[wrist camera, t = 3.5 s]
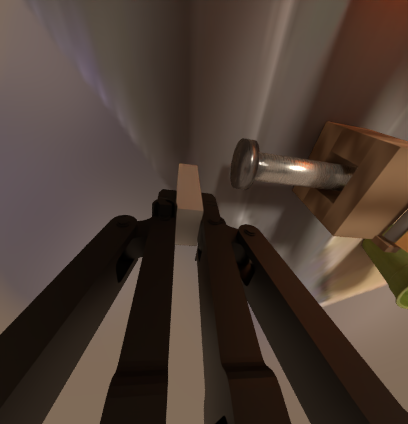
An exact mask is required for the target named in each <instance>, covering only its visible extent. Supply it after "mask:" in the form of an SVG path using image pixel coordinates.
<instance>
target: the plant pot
mask: <svg viewBox="0 0 408 424" xmlns="http://www.w3.org/2000/svg"><path fill="white" fill-rule="evenodd" d="M392 226H393V225H391V226H390V227H389V228H388V229H387V231H388V230H389V229H390V228H391V227H392ZM387 231H386V232H387ZM386 232H385V233H386ZM407 232H408V231H407ZM385 233H384V234H385ZM384 234H383V235H382V236H384ZM371 240H372V239H364V241H363V244H362V246H363V249H364V250H365V252H366V253H367V254H368V256H369V257H370V259H371V260H372V261H373V263H374V264H375V266H376V267H377V269H378V270H379V272H380V273H381V274H382V276H383V277H384V279H385V280H386V282H387V283H388V285H389V288H390V290H391V291H392V292H393V294H394V295H395V297H396V304H397V305H398V306H399V307H401V308H405V309H408V253H407V252H406V251H405V250H403V249H402V248H400V249H399V250H398V251H397V252H396V253H392V252H383V251H382V250H381V249H380V248H379V247H378V246H377V245H376V244H375V243H373V242H372V241H371ZM396 242H397V241H396ZM396 242H395V243H396Z"/></svg>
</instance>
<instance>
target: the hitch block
mask: <svg viewBox="0 0 408 424" xmlns="http://www.w3.org/2000/svg"><path fill="white" fill-rule="evenodd" d="M308 160H314V161H321V162H327V163H334V164H341V165H347V166H354V167H358V168H357V169H356V171H355V172H354V174H353V175H352V177H351V178H350V180H349V181H348V183H347V184H346V186H345V187H344V189H343V190H342V191H335V190H327V189H319V188H311V187H303V186H294V188H293V190H292V191H293V192H294V193H295V194H296V195H297V196H298V197H299V199H300V200H301V201H302V202H303V203H304V204H305V205H306V206H307V207H308V209H309V210H310V211H311V212H312V213H313V214H314V215H315V216H316V217H317V219H318V220H319V221H320V222H321V223H322V224H323V225H324V226H325V227H326V229H327V230H328V231H329V232H330V233H331V234H332V235H333V236H340V237H352V238H365V239H372V240H371V241H372V242H373V243H375V244H376V245H377V246H378V247H379V248H380V249H381V250H382V251H383V252H392V253H396V252H397V251H398V250H399V249H400V247H399V246H398V245H396V244H395V242H392V241H390V240H388V239H386V238H385V237H384V236H382V235H383V234H384V233H385V232H386V231H387V229H388V228H389V227H390V226H391V225H392V224H393V223H394V222H395V221H396V220H397V219H398V218H399V217H400V216H401V215H402V214H403V213H404V212H405V211H406V210H407V209H408V141H405V140H401V139H398V138H395V137H392V136H389V135H385V134H382V133H379V132H376V131H373V130H369V129H366V128H360V127H355V126H350V125H344V124H339V123H334V122H329V121H327V122H326V124H325V126H324V128H323V130H322V132H321V134H320V136H319V138H318V140H317V142H316V144H315V146H314V148H313V150H312V152H311V154H310V156H309V158H308Z"/></svg>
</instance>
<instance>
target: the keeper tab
mask: <svg viewBox="0 0 408 424" xmlns="http://www.w3.org/2000/svg"><path fill="white" fill-rule="evenodd" d="M407 231H408V210H407V211H406V212H405V213H404V214H403V215H402V216H401V217H400V218H399V219H398V220H397V222H396V223H395V224H394V225H393V226H392V227H391V228H390V229H389V230H388V231H387V232H386V233H385V234H384V237H385V238H386V239H388V240H390V241H392V242H396V241H397V242H396V243H395V244H396V245H398V246H399V247H400V248H402V249H403V250H405V251H406V252H407V253H408V232H407Z"/></svg>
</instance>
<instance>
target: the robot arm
mask: <svg viewBox="0 0 408 424" xmlns="http://www.w3.org/2000/svg"><path fill="white" fill-rule="evenodd" d="M197 241H198V248H197V253H196V258H195V261H197V266H198V283H199V298H200V314H201V330H202V346H203V362H204V378H205V400H204V424H291V422H290V418H289V415H288V411H287V408H286V405H285V402H284V398H283V395H282V392H281V388H280V386H279V383H278V380H277V378H276V376H275V374H274V372H273V371H272V370H271V369H270V368H269V367H268V366H266V364H265V363H264V360H263V358H262V354H261V351H260V347H259V343H258V340H257V336H256V332H255V329H254V325H253V321H252V318H251V314H250V311H249V307H248V303H249V305H250V307H251V308H252V311H253V312H254V315H255V317H256V318H257V320H258V322H259V324H260V326H261V328H262V330H263V332H264V334H265V336H266V338H267V340H268V342H269V344H270V345H271V348H272V349H273V351H274V353H275V355H276V357H277V359H278V361H279V363H280V365H281V367H282V369H283V371H284V373H285V375H286V377H287V379H288V380H289V382H290V384H291V386H292V388H293V390H294V392H295V394H296V396H297V398H298V400H299V402H300V404H301V406H302V408H303V409H304V411H305V414H306V415H307V417H308V419H309V421H310V423H311V424H408V412H407V411H405V409H403V408H402V406H401V405H400V404H399V403H398V402H397V400H396V399H395V398H394V397H393V395H392V394H391V393H390V392H389V390H388V389H387V388H386V387H385V386H384V384H383V383H382V382H381V381H380V379H379V378H378V377H377V376H376V374H375V373H374V372H373V371H372V369H371V368H370V367H369V366H368V364H367V363H366V362H365V361H364V359H363V358H362V357H361V356H360V354H359V353H358V352H357V351H356V349H355V348H354V347H353V346H352V345H351V343H350V342H349V341H348V340H347V338H346V337H345V336H344V335H343V333H342V332H341V331H340V330H339V328H338V327H337V326H336V325H335V324H334V322H333V321H332V320H331V318H330V317H329V316H328V315H327V314H326V312H325V311H324V310H323V309H322V307H321V306H320V305H319V304H318V302H317V301H316V300H315V299H314V297H313V296H312V295H311V294H310V292H309V291H308V290H307V289H306V287H305V286H304V285H303V284H302V282H301V281H300V280H299V279H298V278H297V276H296V275H295V274H294V273H293V271H292V270H291V269H290V268H289V266H288V265H287V264H286V263H285V261H284V260H283V259H282V258H281V256H280V255H279V254H278V253H277V251H276V250H275V249H274V248H273V247H272V245H271V244H270V243H269V242H268V240H267V239H266V238H265V237H264V235H263V234H262V233H261V232H260V231H259V230H258V229H257V228H256V227H254V226H252V225H247V224H244V225H241V226H240V227H239V229H236V228H233V227H230V226H228V225H226V222H225V221H224V219H223V218H221V217H220V214H219V210H218V206H217V202H216V198H215V197H214V196H213V195H212V194H208V193H201V189H200V182H199V175H198V167H197V165H189V164H181V163H179V170H178V180H177V191H175V190H166V189H163V190H161V191H160V192H159V196H158V199H157V200H155V201H154V202H153V203H152V217H151V218H150V219H147V220H143V221H137V219H135V218H134V217H132V216H129V215H121V216H117V217H114V218H113V219H112V220H111V221H110V222H109V223H108V224H107V225H106V226H105V227H104V228H103V229H102V230H101V231H100V232H99V233H98V234H97V235H96V236H95V237H94V238H93V239H92V240H91V241H90V242H89V244H87V245H86V247H85V248H84V249H83V250H82V251H81V252H80V253H79V254H78V255H77V256H76V257H75V258H74V259H73V260H72V261H71V262H70V263H69V264H68V265H67V266H66V267H65V268H64V269H63V270H62V271H61V272H60V273H59V275H57V277H56V278H55V279H54V280H53V281H52V282H51V283H50V284H49V285H48V286H47V287H46V288H45V289H44V290H43V291H42V292H41V293H40V294H39V295H38V296H37V297H36V298H35V299H34V300H33V301H32V303H31V304H30V305H29V306H28V307H27V308H26V309H25V310H24V311H23V312H22V313H21V314H20V315H19V316H18V317H17V318H16V319H15V320H14V321H13V322H12V323H11V324H10V325H9V326H8V327H7V328H6V330H5V331H3V333H2V334H1V335H0V424H42V423H43V421H44V420H45V418H46V416H47V414H48V413H49V411H50V409H51V407H52V406H53V404H54V402H55V400H56V399H57V397H58V396H59V394H60V392H61V390H62V389H63V387H64V385H65V384H66V382H67V380H68V379H69V377H70V375H71V373H72V372H73V370H74V368H75V367H76V365H77V363H78V361H79V360H80V358H81V356H82V354H83V353H84V351H85V349H86V348H87V346H88V344H89V342H90V341H91V339H92V337H93V336H94V334H95V332H96V331H97V329H98V327H99V326H100V324H101V322H102V321H103V319H104V317H105V315H106V314H107V312H108V310H109V309H110V307H111V305H112V303H113V302H114V300H115V298H116V297H117V295H118V293H119V291H120V290H121V288H122V286H123V285H124V283H125V281H126V280H127V278H128V276H129V274H130V273H131V271H132V269H133V267H134V266H135V264H136V262H137V261H138V258H140V257H143V258H142V262H141V267H140V271H139V276H138V280H137V284H136V289H135V293H134V297H133V302H132V307H131V310H130V315H129V319H128V324H127V328H126V332H125V337H124V341H123V345H122V349H121V354H120V358H119V362H118V366H117V370H116V372H115V374H114V376H113V377H112V380H111V383H110V386H109V389H108V393H107V396H106V401H105V404H104V409H103V413H102V417H101V421H100V424H166V409H167V387H168V355H169V338H170V337H169V336H170V321H171V319H170V318H171V302H172V285H173V267H174V250H175V245H189V246H196V245H197ZM247 301H248V303H247Z"/></svg>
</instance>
